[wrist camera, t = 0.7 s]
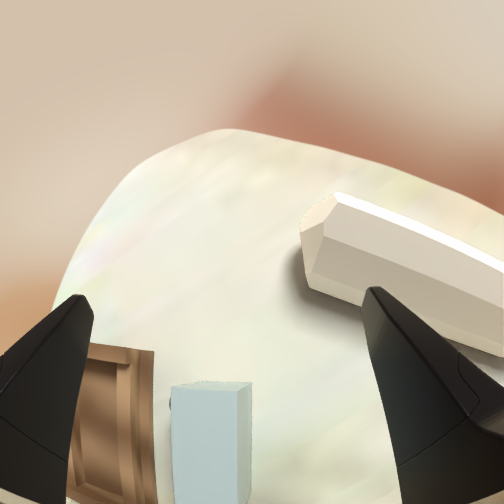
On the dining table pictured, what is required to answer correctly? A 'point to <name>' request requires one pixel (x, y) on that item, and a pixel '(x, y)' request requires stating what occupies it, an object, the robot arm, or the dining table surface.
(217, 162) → the dining table surface
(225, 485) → the pale blue block
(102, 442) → the wooden tray
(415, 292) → the cream bevelled bar
